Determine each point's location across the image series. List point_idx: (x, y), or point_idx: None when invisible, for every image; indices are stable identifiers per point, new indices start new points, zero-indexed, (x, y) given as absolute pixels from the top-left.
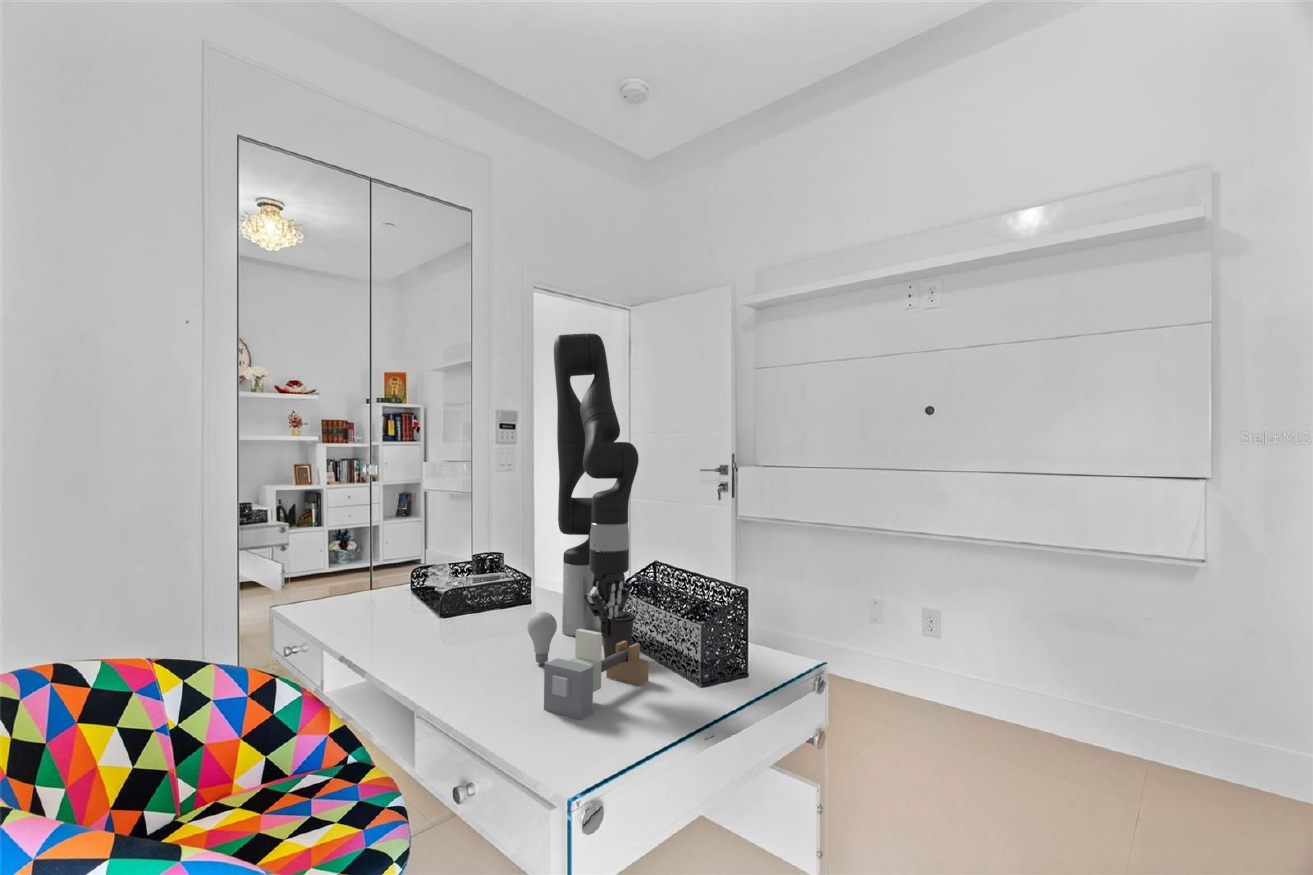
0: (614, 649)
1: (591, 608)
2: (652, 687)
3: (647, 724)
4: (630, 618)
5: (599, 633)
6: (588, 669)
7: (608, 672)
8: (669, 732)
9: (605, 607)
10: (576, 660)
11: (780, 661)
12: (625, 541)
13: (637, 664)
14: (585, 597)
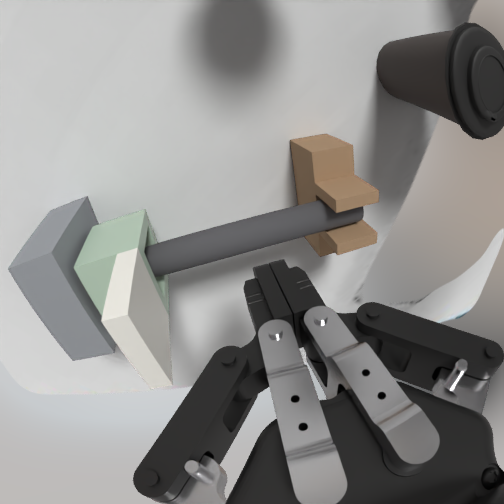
0: (399, 85)
1: (185, 408)
2: (308, 253)
3: (177, 353)
4: (484, 136)
5: (161, 385)
6: (97, 354)
7: (296, 148)
8: (185, 378)
9: (318, 348)
10: (106, 278)
11: (472, 284)
12: None
13: (319, 248)
14: (139, 478)
